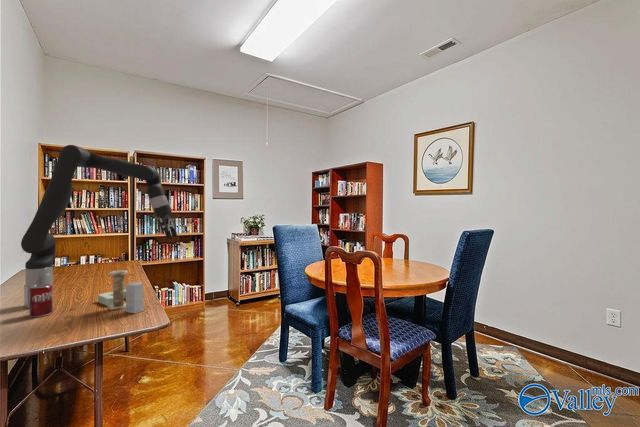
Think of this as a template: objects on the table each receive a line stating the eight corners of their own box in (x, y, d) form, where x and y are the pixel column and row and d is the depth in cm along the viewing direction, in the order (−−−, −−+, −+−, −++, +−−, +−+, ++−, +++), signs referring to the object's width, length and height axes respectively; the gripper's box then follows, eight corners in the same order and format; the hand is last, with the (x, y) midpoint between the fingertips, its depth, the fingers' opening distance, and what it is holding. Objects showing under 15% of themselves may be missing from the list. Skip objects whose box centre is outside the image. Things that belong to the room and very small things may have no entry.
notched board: (108, 306, 139) (108, 298, 139) (97, 301, 146) (97, 294, 146) (140, 299, 150) (140, 292, 150) (128, 295, 157) (128, 288, 157)
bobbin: (113, 311, 133) (113, 274, 133) (106, 308, 137) (106, 272, 137) (130, 307, 139) (130, 271, 139) (123, 304, 143) (123, 269, 143)
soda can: (57, 313, 131) (57, 284, 130) (36, 318, 124) (36, 288, 123) (45, 311, 133) (45, 283, 133) (25, 316, 126) (24, 287, 126)
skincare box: (144, 310, 134) (144, 283, 134) (134, 313, 130) (134, 285, 130) (134, 308, 136) (134, 281, 136) (125, 311, 133) (125, 283, 132)
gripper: (158, 208, 157) (169, 238, 159) (147, 208, 143) (159, 241, 145) (173, 203, 158) (184, 233, 160) (163, 203, 144) (175, 236, 146)
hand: (172, 237), depth 152 cm, fingers open, 8 cm apart
